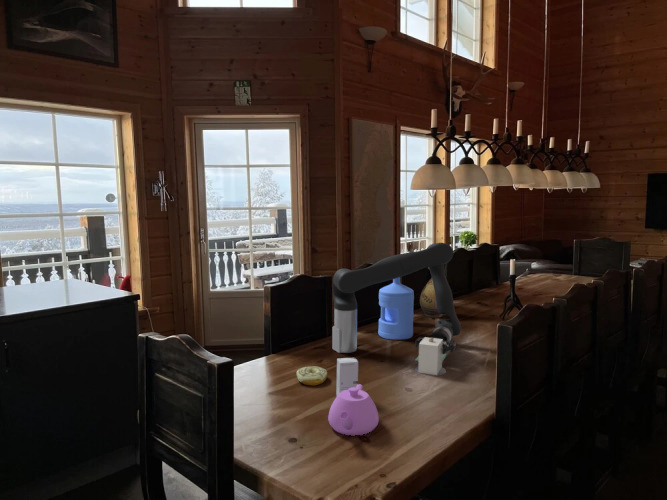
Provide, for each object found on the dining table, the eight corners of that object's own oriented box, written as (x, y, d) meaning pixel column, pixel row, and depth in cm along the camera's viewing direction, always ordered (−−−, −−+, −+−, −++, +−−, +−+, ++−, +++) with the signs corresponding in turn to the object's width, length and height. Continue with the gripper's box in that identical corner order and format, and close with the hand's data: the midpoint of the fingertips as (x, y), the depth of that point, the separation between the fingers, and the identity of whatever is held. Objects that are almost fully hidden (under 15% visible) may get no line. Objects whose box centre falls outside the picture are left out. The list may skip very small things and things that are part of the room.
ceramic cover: (436, 375, 171) (437, 342, 170) (418, 372, 174) (419, 340, 172) (441, 367, 179) (442, 336, 178) (424, 364, 182) (424, 333, 181)
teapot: (317, 441, 126) (317, 401, 125) (337, 409, 145) (337, 374, 144) (370, 449, 122) (371, 408, 121) (383, 414, 141) (384, 379, 140)
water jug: (403, 329, 231) (404, 270, 228) (419, 338, 216) (420, 276, 213) (372, 332, 226) (373, 272, 223) (387, 342, 211) (388, 278, 208)
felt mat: (441, 364, 183) (441, 363, 183) (414, 361, 187) (414, 360, 187) (446, 355, 194) (446, 354, 194) (422, 352, 198) (422, 351, 198)
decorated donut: (296, 387, 162) (296, 376, 161) (296, 375, 172) (296, 364, 172) (327, 386, 162) (327, 375, 162) (326, 374, 173) (326, 364, 173)
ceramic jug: (437, 320, 247) (439, 262, 244) (413, 315, 258) (414, 259, 255) (457, 315, 258) (458, 259, 255) (433, 310, 270) (434, 256, 266)
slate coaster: (427, 378, 169) (427, 377, 169) (408, 368, 179) (408, 367, 179) (452, 373, 174) (452, 372, 174) (432, 363, 184) (432, 362, 184)
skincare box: (339, 401, 150) (339, 363, 149) (335, 395, 155) (336, 358, 153) (358, 399, 152) (358, 361, 150) (354, 393, 156) (355, 356, 155)
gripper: (422, 326, 194) (412, 337, 179) (459, 330, 188) (451, 342, 173) (422, 345, 195) (411, 357, 180) (458, 349, 189) (451, 362, 174)
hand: (431, 349), depth 177 cm, fingers open, 8 cm apart
